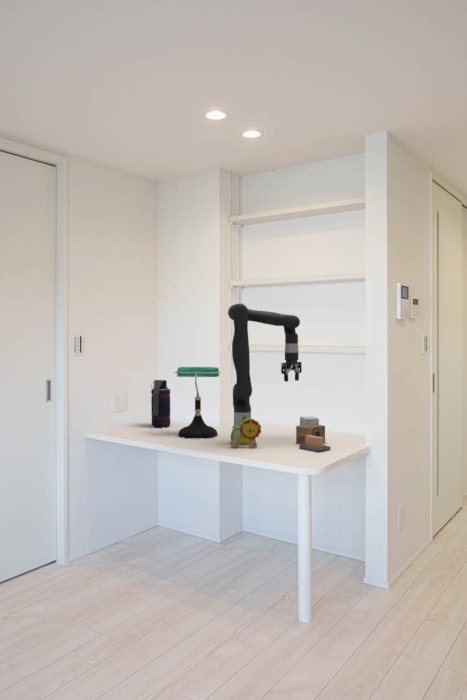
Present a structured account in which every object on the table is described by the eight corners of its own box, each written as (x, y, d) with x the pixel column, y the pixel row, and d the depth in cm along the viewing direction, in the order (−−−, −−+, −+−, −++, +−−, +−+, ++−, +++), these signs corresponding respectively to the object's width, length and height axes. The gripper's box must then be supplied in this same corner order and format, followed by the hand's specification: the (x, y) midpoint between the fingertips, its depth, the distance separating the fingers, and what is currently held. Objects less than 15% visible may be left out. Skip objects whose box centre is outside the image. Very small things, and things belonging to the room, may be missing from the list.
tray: (319, 452, 286) (319, 448, 286) (299, 448, 295) (299, 445, 295) (330, 450, 292) (330, 446, 292) (310, 446, 301) (310, 443, 301)
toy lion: (230, 448, 297) (230, 419, 296) (230, 446, 302) (230, 417, 302) (261, 448, 297) (261, 419, 296) (260, 446, 302) (260, 417, 302)
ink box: (305, 439, 322) (305, 418, 322) (299, 436, 330) (299, 416, 330) (319, 438, 324) (319, 417, 324) (313, 436, 333) (313, 415, 332)
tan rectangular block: (320, 449, 289) (320, 438, 289) (305, 447, 297) (305, 435, 296) (323, 449, 291) (323, 437, 291) (308, 446, 298) (308, 434, 298)
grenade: (156, 424, 376) (156, 379, 375) (173, 425, 372) (173, 379, 371) (146, 428, 363) (146, 380, 362) (164, 428, 359) (163, 381, 358)
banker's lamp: (222, 432, 346) (222, 366, 345) (217, 439, 323) (217, 368, 322) (179, 431, 348) (179, 365, 347) (171, 438, 325) (171, 368, 324)
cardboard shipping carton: (311, 446, 302) (311, 428, 301) (296, 443, 309) (296, 426, 309) (325, 443, 310) (325, 425, 309) (310, 440, 318) (310, 423, 317)
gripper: (295, 351, 325) (295, 379, 325) (277, 351, 315) (277, 381, 316) (305, 351, 319) (305, 380, 320) (287, 352, 310) (287, 382, 310)
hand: (291, 381), depth 318 cm, fingers open, 8 cm apart
